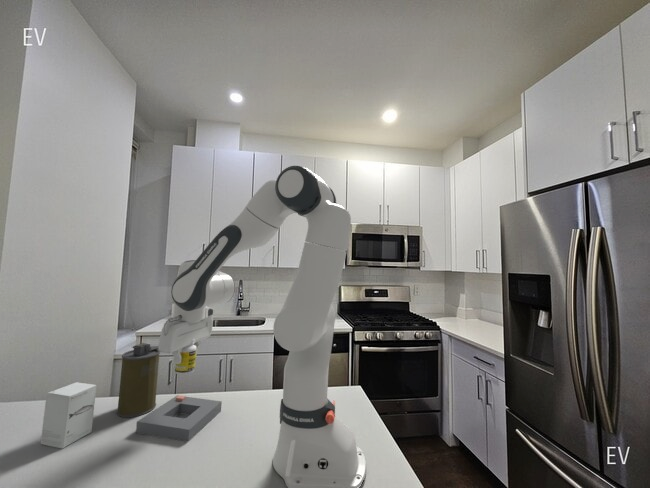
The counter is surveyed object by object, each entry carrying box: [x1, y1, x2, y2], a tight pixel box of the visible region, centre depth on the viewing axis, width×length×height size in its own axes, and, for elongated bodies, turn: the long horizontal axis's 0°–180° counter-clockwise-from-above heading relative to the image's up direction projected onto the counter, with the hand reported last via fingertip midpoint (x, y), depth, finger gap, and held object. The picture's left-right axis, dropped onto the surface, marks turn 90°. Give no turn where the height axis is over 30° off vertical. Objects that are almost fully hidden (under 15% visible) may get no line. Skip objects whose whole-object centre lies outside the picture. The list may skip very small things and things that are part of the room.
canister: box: [116, 342, 161, 418], centre depth 90 cm, size 11×10×20 cm
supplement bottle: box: [174, 339, 197, 376], centre depth 85 cm, size 5×5×10 cm
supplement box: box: [40, 381, 97, 449], centre depth 74 cm, size 7×7×13 cm
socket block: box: [135, 395, 222, 442], centre depth 83 cm, size 16×16×4 cm
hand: (186, 359), depth 85 cm, fingers closed on supplement bottle, 5 cm apart
